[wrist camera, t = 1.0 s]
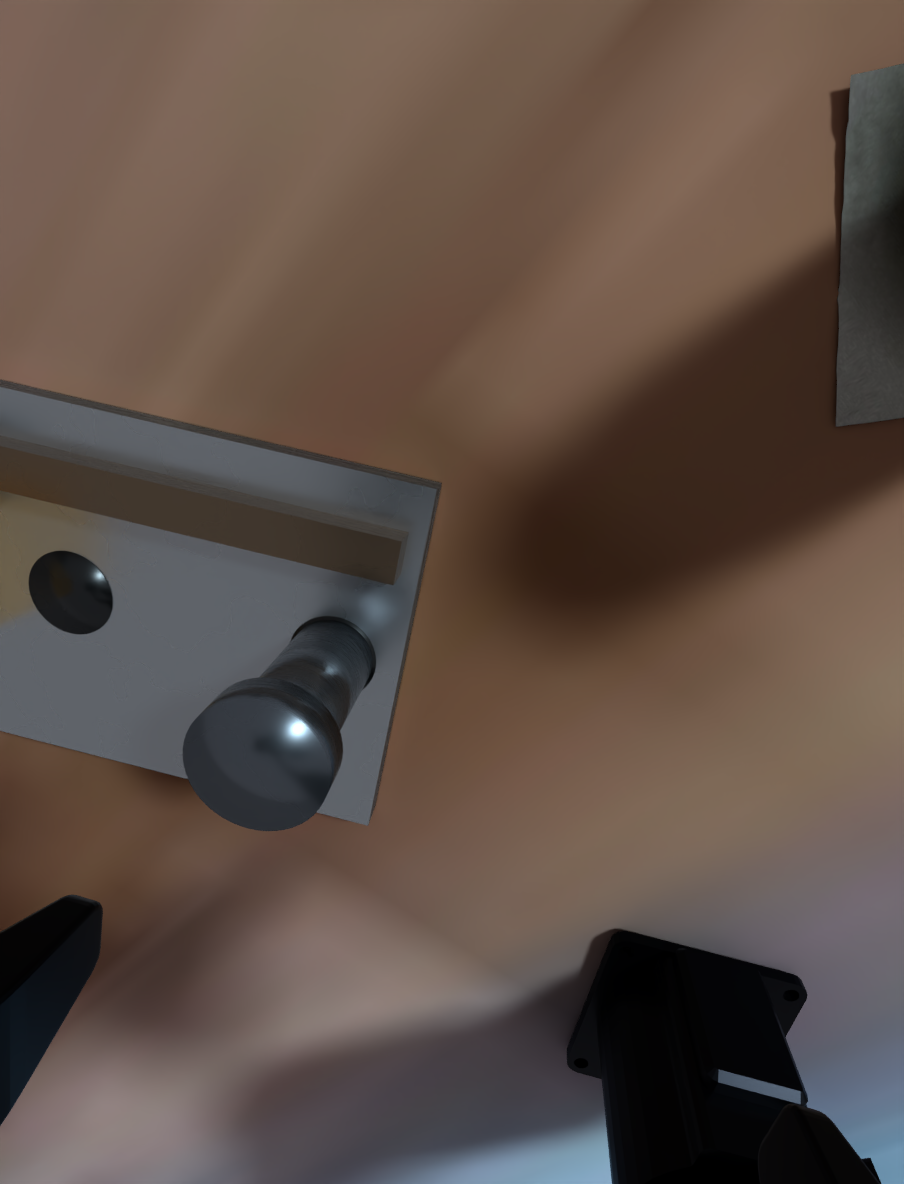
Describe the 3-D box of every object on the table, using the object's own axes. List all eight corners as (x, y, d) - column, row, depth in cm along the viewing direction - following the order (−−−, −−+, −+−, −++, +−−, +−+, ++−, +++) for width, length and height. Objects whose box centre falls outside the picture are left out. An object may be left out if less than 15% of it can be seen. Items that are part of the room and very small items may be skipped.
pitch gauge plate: (375, 805, 21) (312, 979, 15) (-77, 690, 22) (-309, 812, 16) (441, 482, 18) (393, 542, 12) (-105, 355, 18) (-424, 347, 12)
